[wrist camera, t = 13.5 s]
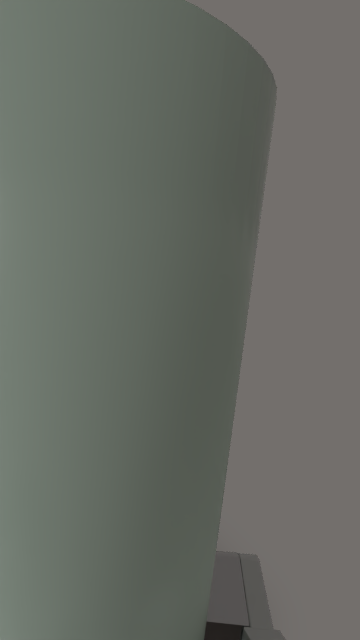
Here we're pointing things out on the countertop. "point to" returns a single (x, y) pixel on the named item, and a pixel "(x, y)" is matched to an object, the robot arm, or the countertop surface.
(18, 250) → the sage vase
